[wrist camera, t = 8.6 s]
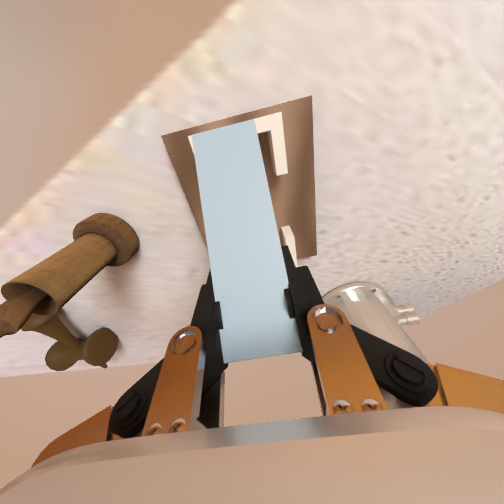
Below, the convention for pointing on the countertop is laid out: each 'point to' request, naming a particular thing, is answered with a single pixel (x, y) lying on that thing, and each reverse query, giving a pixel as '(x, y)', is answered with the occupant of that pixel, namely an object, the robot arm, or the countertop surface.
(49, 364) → the kendama
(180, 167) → the board
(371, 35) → the countertop surface
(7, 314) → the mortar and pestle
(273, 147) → the end caps
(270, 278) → the light blue rectangular block
